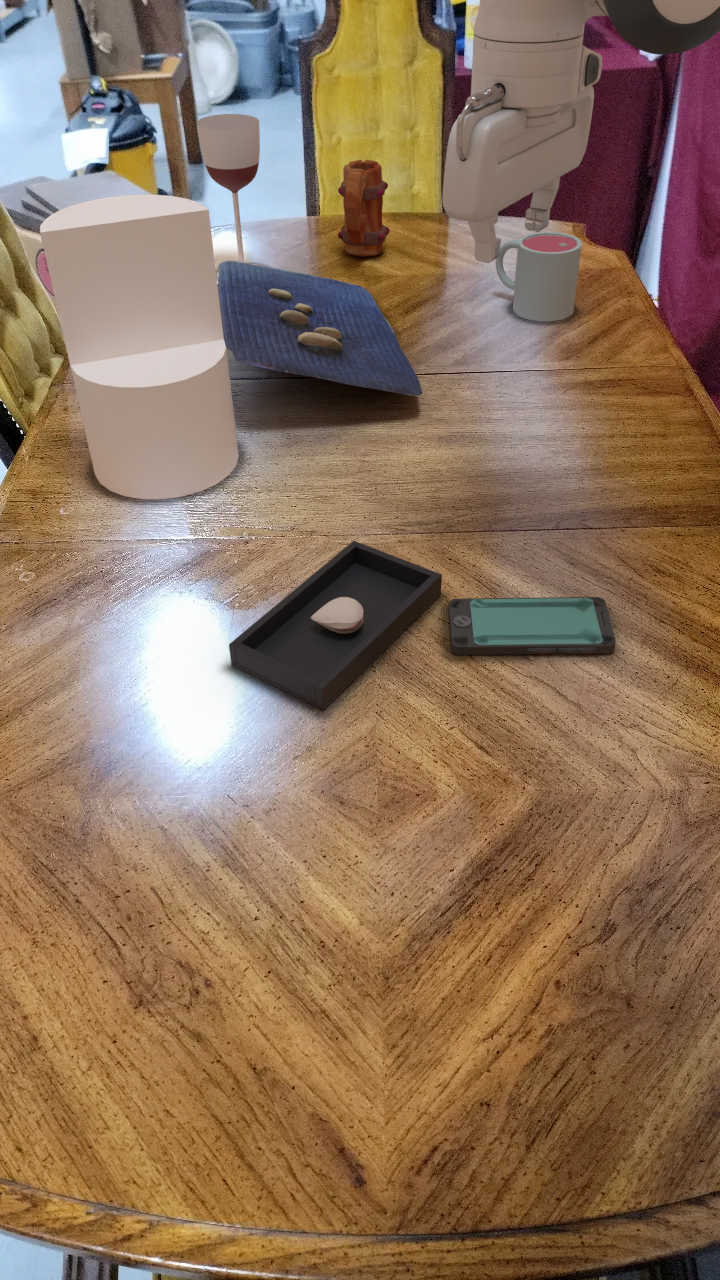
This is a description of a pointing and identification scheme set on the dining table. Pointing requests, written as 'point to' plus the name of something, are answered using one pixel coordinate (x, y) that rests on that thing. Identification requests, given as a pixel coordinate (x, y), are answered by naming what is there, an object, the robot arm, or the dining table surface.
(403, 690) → the dining table surface
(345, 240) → the mug
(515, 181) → the robot arm
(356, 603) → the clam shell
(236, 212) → the wineglass
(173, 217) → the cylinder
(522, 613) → the smartphone
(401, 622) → the tray
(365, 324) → the mat
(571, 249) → the mug
